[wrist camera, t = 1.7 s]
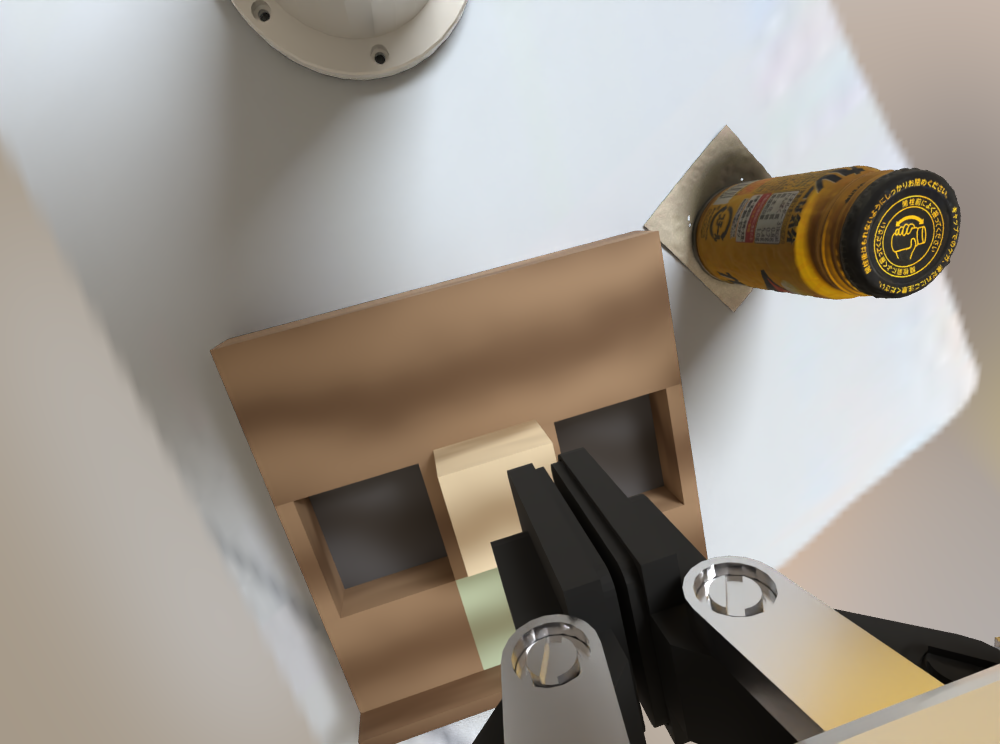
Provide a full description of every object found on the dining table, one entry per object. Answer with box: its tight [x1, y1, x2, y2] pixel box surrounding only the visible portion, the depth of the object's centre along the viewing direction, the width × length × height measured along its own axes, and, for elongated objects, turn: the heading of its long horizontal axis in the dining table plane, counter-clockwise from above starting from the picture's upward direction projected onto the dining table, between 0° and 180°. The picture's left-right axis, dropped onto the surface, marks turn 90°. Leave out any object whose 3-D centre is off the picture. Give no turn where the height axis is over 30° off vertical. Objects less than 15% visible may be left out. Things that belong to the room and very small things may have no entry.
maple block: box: [433, 420, 557, 577], centre depth 29 cm, size 6×6×4 cm
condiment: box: [644, 125, 961, 312], centre depth 27 cm, size 7×8×12 cm
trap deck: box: [210, 231, 708, 744], centre depth 32 cm, size 25×24×5 cm
